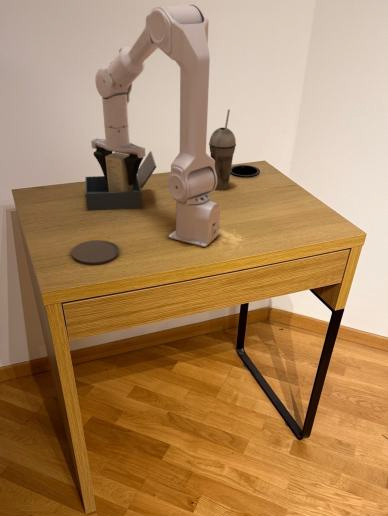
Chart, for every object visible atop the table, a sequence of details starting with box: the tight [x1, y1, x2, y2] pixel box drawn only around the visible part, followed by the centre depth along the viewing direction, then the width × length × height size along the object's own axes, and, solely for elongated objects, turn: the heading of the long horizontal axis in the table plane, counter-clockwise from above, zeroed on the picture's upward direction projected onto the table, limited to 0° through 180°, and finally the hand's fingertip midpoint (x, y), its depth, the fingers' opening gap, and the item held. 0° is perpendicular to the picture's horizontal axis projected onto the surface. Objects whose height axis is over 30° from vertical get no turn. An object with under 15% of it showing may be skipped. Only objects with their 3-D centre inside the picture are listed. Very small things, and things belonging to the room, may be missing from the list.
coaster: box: [71, 239, 120, 266], centre depth 106 cm, size 10×10×1 cm
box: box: [105, 152, 133, 192], centre depth 125 cm, size 5×4×11 cm
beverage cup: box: [208, 109, 237, 191], centre depth 132 cm, size 7×7×20 cm
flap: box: [137, 150, 157, 190], centre depth 125 cm, size 7×12×1 cm
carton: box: [84, 175, 143, 211], centre depth 127 cm, size 14×12×4 cm
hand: (120, 181), depth 126 cm, fingers open, 7 cm apart
